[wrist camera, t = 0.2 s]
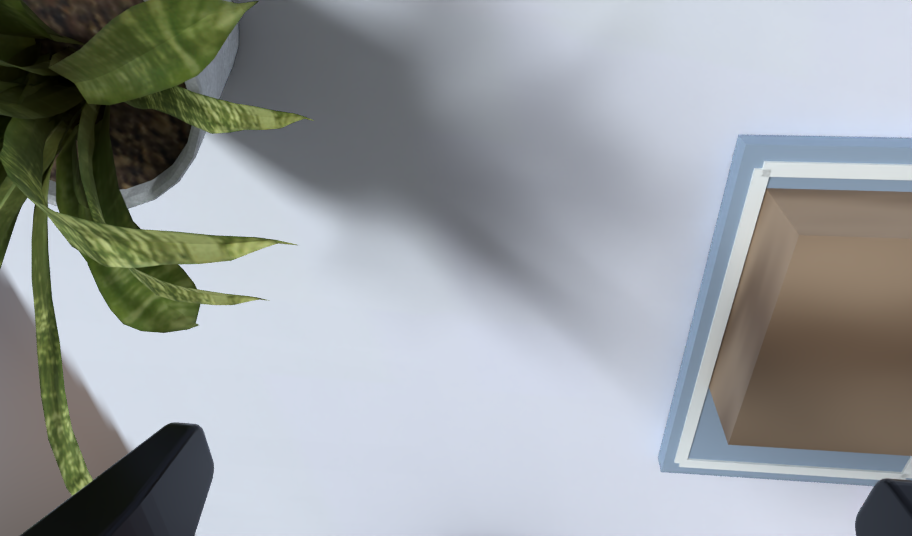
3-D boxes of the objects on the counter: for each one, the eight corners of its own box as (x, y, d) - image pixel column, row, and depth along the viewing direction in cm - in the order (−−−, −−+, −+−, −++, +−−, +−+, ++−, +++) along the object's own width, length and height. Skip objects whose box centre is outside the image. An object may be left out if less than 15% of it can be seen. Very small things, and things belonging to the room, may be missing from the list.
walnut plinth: (943, 399, 25) (989, 460, 22) (708, 386, 25) (728, 444, 23) (1063, 195, 20) (1140, 246, 17) (766, 188, 20) (799, 235, 18)
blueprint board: (905, 473, 28) (916, 490, 28) (657, 457, 29) (661, 473, 28) (1105, 141, 19) (1128, 153, 19) (738, 134, 20) (746, 145, 20)
